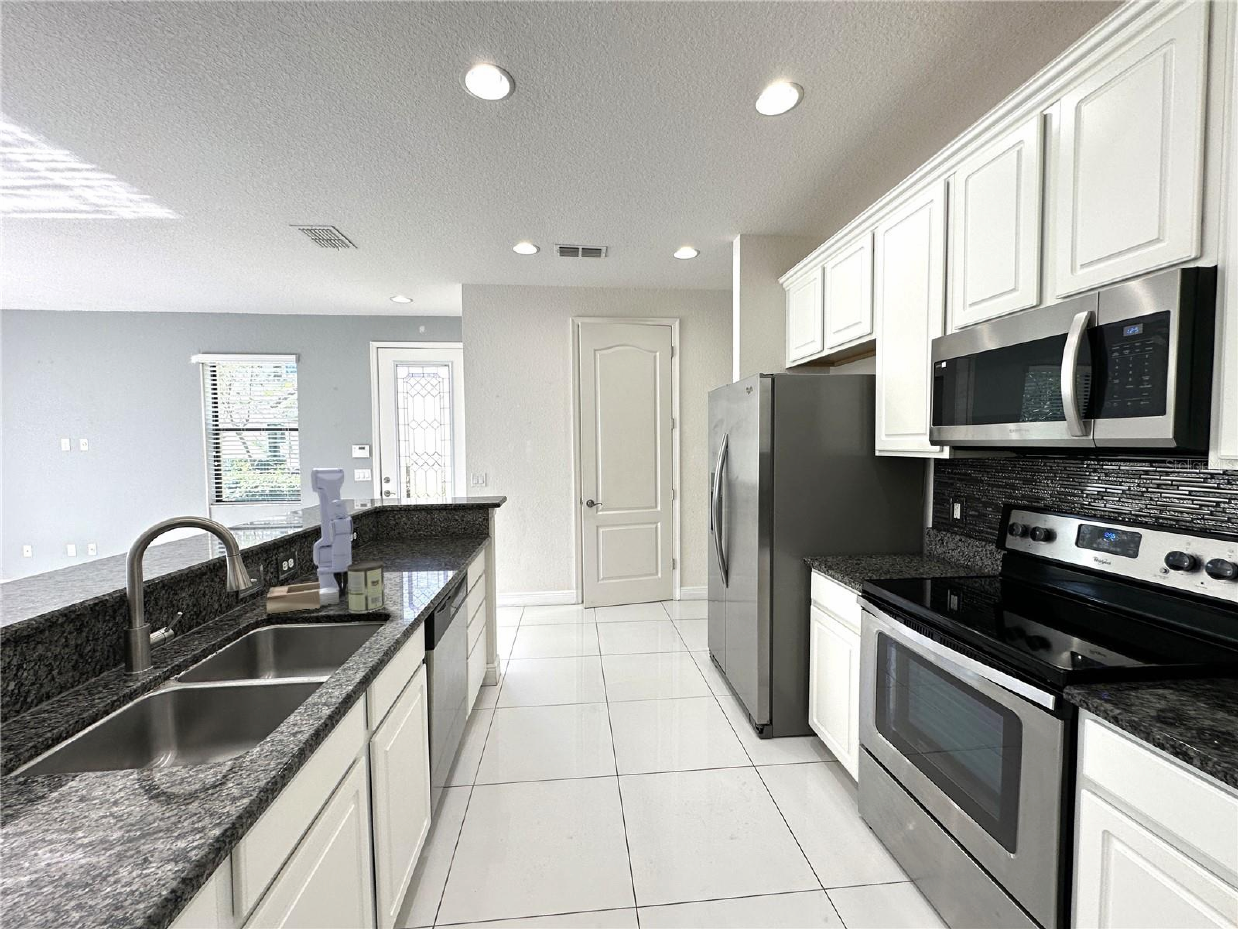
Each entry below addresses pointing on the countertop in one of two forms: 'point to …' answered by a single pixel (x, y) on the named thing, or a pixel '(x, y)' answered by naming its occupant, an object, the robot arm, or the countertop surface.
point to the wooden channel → (293, 598)
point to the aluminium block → (328, 595)
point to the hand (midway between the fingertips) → (342, 594)
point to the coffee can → (365, 586)
